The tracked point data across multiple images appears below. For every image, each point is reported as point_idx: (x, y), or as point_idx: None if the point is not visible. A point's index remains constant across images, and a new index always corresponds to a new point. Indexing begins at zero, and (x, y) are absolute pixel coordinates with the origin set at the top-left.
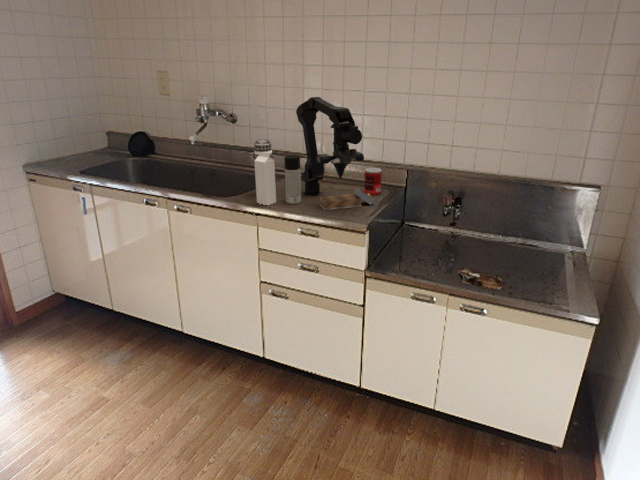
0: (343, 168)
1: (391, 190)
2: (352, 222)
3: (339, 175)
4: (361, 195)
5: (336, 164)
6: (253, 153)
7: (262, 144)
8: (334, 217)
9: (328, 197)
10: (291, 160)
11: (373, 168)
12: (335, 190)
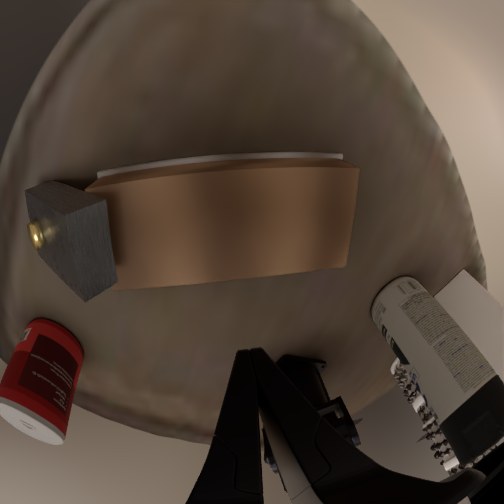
0: (236, 469)
1: (5, 343)
2: None
3: (276, 371)
4: (74, 198)
5: (451, 488)
6: None
7: None
8: (323, 27)
9: (304, 250)
10: None
11: (35, 435)
12: (195, 389)
